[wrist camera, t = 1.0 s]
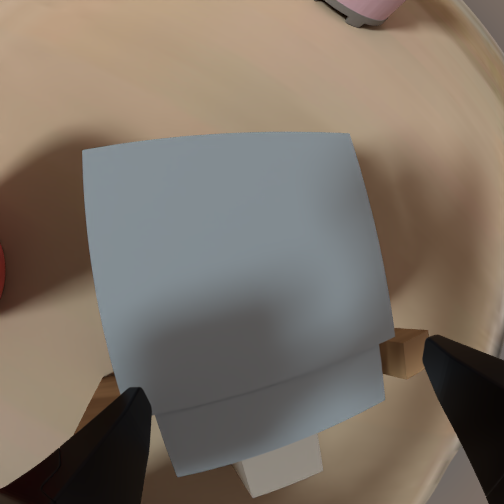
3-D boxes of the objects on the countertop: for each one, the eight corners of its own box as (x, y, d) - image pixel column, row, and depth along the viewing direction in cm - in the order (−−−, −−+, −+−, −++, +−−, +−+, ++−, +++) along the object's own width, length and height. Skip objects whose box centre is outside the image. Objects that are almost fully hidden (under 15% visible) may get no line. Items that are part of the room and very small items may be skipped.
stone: (291, 443, 22) (323, 470, 17) (231, 464, 20) (252, 498, 15) (280, 390, 22) (313, 410, 17) (215, 409, 20) (235, 437, 16)
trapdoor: (364, 381, 16) (400, 392, 13) (150, 451, 12) (153, 483, 9) (319, 156, 17) (349, 133, 14) (93, 177, 13) (82, 150, 10)
